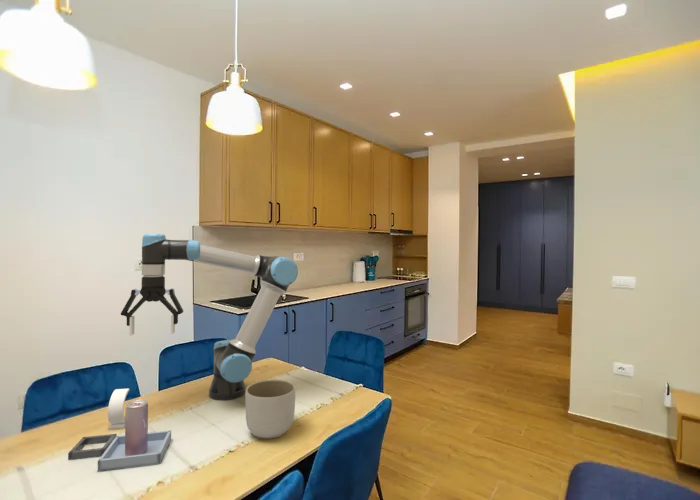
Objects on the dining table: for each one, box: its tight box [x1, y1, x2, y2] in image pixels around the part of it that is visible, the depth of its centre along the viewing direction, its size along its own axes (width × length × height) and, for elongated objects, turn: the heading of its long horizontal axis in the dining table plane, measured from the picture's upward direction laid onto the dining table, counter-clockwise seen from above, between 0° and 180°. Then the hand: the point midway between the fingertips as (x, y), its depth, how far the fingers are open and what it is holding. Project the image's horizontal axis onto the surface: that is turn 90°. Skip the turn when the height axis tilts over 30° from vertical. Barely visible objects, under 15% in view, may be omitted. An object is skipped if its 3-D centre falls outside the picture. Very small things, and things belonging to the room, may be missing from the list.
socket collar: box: [67, 433, 118, 461], centre depth 112 cm, size 10×10×2 cm
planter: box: [244, 378, 297, 440], centre depth 125 cm, size 17×17×15 cm
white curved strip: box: [107, 388, 130, 430], centre depth 127 cm, size 5×6×12 cm
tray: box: [97, 429, 172, 473], centre depth 110 cm, size 16×14×3 cm
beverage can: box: [124, 399, 149, 456], centre depth 110 cm, size 6×6×15 cm
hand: (152, 333), depth 132 cm, fingers open, 13 cm apart
